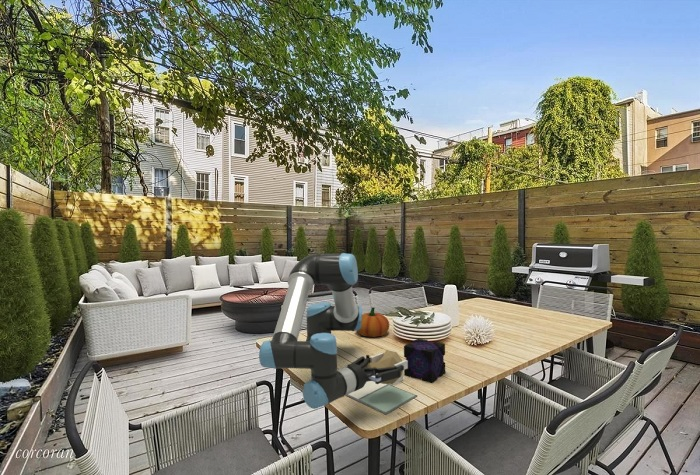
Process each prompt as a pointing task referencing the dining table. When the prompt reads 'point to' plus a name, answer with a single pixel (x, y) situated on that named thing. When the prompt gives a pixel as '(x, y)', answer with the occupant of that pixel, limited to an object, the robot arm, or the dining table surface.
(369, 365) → the low-poly potato
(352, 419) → the dining table surface
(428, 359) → the energy cube
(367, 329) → the pumpkin
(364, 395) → the game board
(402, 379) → the die
